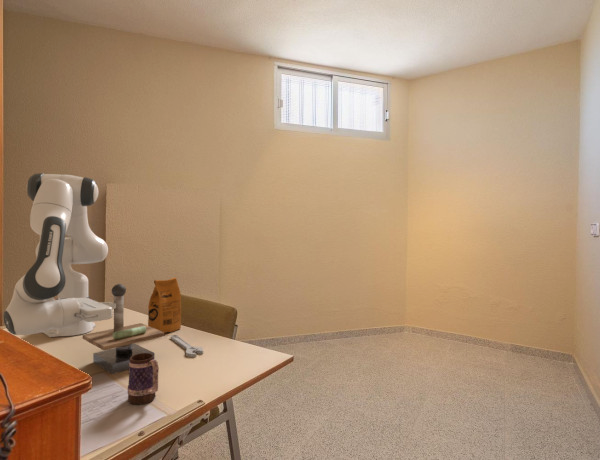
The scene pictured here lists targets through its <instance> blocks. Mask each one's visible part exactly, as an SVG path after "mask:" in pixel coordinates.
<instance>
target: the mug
mask: <svg viewBox="0 0 600 460" xmlns="http://www.w3.org/2000/svg"><path fill="white" fill-rule="evenodd" d="M159 369H160V367H159V362H158V361H157V359H155V355H154V356H153V355H152V354H150V353H140V354H136V355H133V356H131V357H130V361H129V369H128V385H127V401H128V403H129V404H131V405H136V406H137V405H138V406H139V405H146V404H149V403H151V402H152V401H154V399H155V398H156V396H157V395H156V393H157V392H158V391H159Z"/></svg>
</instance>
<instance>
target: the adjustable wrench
mask: <svg viewBox="0 0 600 460" xmlns="http://www.w3.org/2000/svg"><path fill="white" fill-rule="evenodd" d="M170 339H171V340H172V341H173V342H174V343H176V344H177V345H179V346H180V347H182V348H183V349H184V350H185V356H186V357H188V358H197V354H199V355H203V354H204V348H203V347H202V346H193V345H191V344H190V343H188V342H187V341H186V340H184V339H183V338H182V337H181V336H179V335H178V334H172V335H170Z"/></svg>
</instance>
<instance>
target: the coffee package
mask: <svg viewBox="0 0 600 460" xmlns="http://www.w3.org/2000/svg"><path fill="white" fill-rule="evenodd" d="M153 283H154V287H153V291H152V294H151V296H150V297H149V298H150V299H149V301H148V308H147V309H148V310H147V311H148V314H147V315H148V320H147V326H150V327H152V328H155V329H157V330H160V331H162V332H164V334H166V333H172V332H173V333H174V332H176V331H177V330H181V328H182V327H181V326H182V296H181V290H180V286H179V283H178V279H177V277H172V278H170V279H164V280H163V279H158V280H157V279H154V280H153Z"/></svg>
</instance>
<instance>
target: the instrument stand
mask: <svg viewBox="0 0 600 460" xmlns="http://www.w3.org/2000/svg"><path fill="white" fill-rule="evenodd" d="M140 353H150V354H152V355H153V356H154V357H155V352H153V351H151V350H149V349H148V348H145V347H143V346H140V345H139V344H137V343H133V344H129V345H125V346H120V347H116V348H112V349H108V350H101V351H97V352H94V353H93V358H92V359H93V361H92V362H93V363H94V364H95V365H97V366H99V367H100V368H102V369H103V368H104V370H105V371H106V372H108V371H109V372H108V373H110V374H111V373H112V375H114V374H118V373H120V372H123V371H124V372H125V371H129V361H130V357H131V356H133V355H136V354H140Z"/></svg>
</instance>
